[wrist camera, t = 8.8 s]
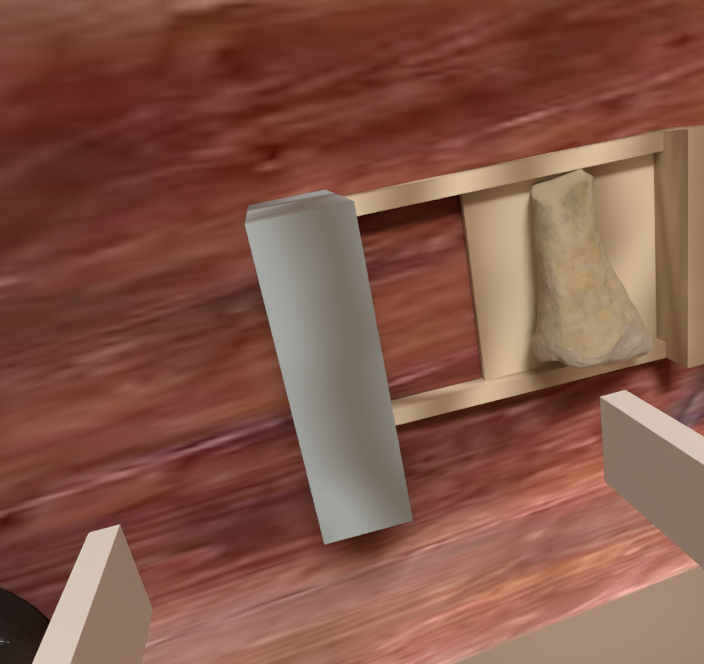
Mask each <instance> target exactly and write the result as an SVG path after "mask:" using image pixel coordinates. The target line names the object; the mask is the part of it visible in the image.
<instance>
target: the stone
mask: <svg viewBox="0 0 704 664" xmlns="http://www.w3.org/2000/svg"><path fill="white" fill-rule="evenodd" d="M531 201H532V209H533V214H534V218H533V220H534V230H535V231H534V233H535V244H536V255H537V264H538V279H539V291H538V308H537V324H536V330H535V332H534V335H533V337H532V340H531V346H532V350H533V352H534V353H535V356H536V357H537V360H538V361H543V362H545V361H551V360H552V361H559V362H561V363H563V364H565V365H567V366H570V367H574V368H576V369H588V368H594V367H598V366H604V367H608V366H613V365H617V364H622V363H625V362H627V361H629V360H631V359H633V358H636V357H642V356H644V355H646V354H648V353H649V351H650V350H651V348H652V345H653V342H652V337H651V335H650V334H649V332H648V330H647V328H646V326H645V325H644V322H643V320H642V318H641V316H640V315H639V312H638V310H637V308H636V307H635V305H634V304H633V303H632V301H631V300H630V298H629V296H628V294H627V291H626V289H625V287H624V285H623V284H622V282H621V281H620V279H619V278H618V277H617V275H616V274H615V272H614V270H613V268H612V266H611V265H610V263H609V261H608V259H607V256H606V254H605V251H604V248H603V245H602V241H601V236H600V232H599V227H598V222H597V215H596V208H595V196H594V178H593V176H592V175H589V174H587V173H586V172H584V171H583V170H582V169H578V170H576V171H574V172H571V173H568V174H564V175H561V176H558V177H556V178H553V179H549V180H545V181H539V182H535V183H534V184H533V185H532V187H531Z"/></svg>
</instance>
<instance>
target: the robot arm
mask: <svg viewBox="0 0 704 664" xmlns="http://www.w3.org/2000/svg"><path fill="white" fill-rule="evenodd" d="M600 404H601V423H602V441H603V459H604V478H605V482H606V483H607V484H608V485H609V486H611V487H612V488H613V489H614V490H615V491H616V492H617V493H619V494H620V495H621V496H622V497H623V498H624V499H625V500H626V501H628V502H629V503H630V504H631V505H632V506H633V507H634V508H635V509H637V510H638V511H639V512H640V513H641V514H642V515H643V516H644V517H646V518H647V519H648V520H649V521H650V522H651V523H652V524H654V525H655V526H656V527H657V528H658V529H659V530H660V531H661V532H663V533H664V534H665V535H666V536H667V537H668V538H669V539H670V540H672V541H673V542H674V543H675V544H676V545H677V546H678V547H679V548H681V549H682V550H683V551H684V552H685V553H686V554H687V555H689V556H690V557H691V558H692V559H693V560H694V561H695V562H696V563H698V564H699V565H700V566H701V567H702V568H703V569H704V437H703V436H702V435H700V434H698V433H697V432H695V431H693V430H692V429H690V428H688V427H687V426H685V425H683V424H682V423H680V422H678V421H676V420H675V419H673V418H671V417H670V416H668V415H666V414H665V413H663V412H661V411H660V410H658V409H656V408H655V407H653V406H651V405H650V404H648V403H646V402H645V401H643V400H641V399H640V398H638V397H636V396H635V395H633V394H631V393H629V392H628V391H626V390H624V391H620V392H616V393H612V394H609V395H605V396H601V397H600ZM152 611H153V609H152V607H151V604H150V602H149V599H148V596H147V594H146V591H145V589H144V586H143V583H142V581H141V578H140V575H139V573H138V570H137V568H136V565H135V562H134V560H133V557H132V555H131V552H130V549H129V547H128V544H127V542H126V539H125V536H124V534H123V531H122V529H121V526H120V525H116V526H112V527H109V528H105V529H101V530H97V531H93V532H90V533H88V536H87V538H86V540H85V543H84V545H83V547H82V550H81V552H80V554H79V557H78V559H77V561H76V563H75V566H74V568H73V570H72V573H71V575H70V577H69V580H68V582H67V584H66V587H65V589H64V591H63V594H62V596H61V598H60V600H59V603H58V605H57V607H56V610H55V612H54V614H53V617H52V619H51V621H50V623H49V622H48V621H47V620H46V619H45V618H44V617H43V616H42V615H41V614H40V613H39V612H38V611H36V610H35V609H34V608H33V607H32V606H30V605H29V604H27V603H26V602H24V601H23V600H21V599H20V598H18V597H16V596H14V595H12V594H11V593H9V592H7V591H4V590H2V589H0V664H141V662H142V657H143V653H144V648H145V643H146V639H147V634H148V629H149V625H150V620H151V615H152Z"/></svg>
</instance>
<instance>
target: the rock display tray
mask: <svg viewBox="0 0 704 664" xmlns="http://www.w3.org/2000/svg"><path fill="white" fill-rule="evenodd" d="M578 169H582V170H583V171H584V172H586V173H587V174H589V175H592V176H593V178H594V196H595V208H596V215H597V222H598V227H599V232H600V236H601V241H602V245H603V248H604V251H605V254H606V256H607V259H608V261H609V263H610V265H611V266H612V268H613V270H614V272H615V274H616V275H617V277H618V278H619V279H620V281H621V282H622V284H623V285H624V287H625V289H626V291H627V294H628V296H629V298H630V300H631V301H632V303H633V304H634V305H635V307H636V308H637V310H638V312H639V315H640V316H641V318H642V320H643V322H644V325H645V326H646V328H647V330H648V332H649V334H650V335H651V337H652V342H653V345H652V348H651V350H650V351H649V353H648V354H646V355H644V356H642V357H636V358H633V359H631V360H629V361H627V362H625V363H622V364H617V365H613V366H608V367H604V366H598V367H594V368H588V369H576V368H574V367H570V366H567V365H565V364H563V363H561V362H559V361H552V360H551V361H545V362H543V361H538V360H537V357H536V356H535V353H534V352H533V350H532V346H531V340H532V337H533V335H534V332H535V330H536V324H537V308H538V291H539V279H538V264H537V255H536V244H535V233H534V231H535V230H534V220H533V218H534V214H533V209H532V201H531V187H532V185H533V184H534V183H535V182H539V181H545V180H549V179H553V178H556V177H558V176H561V175H564V174H568V173H571V172H574V171H576V170H578ZM454 195H460V203H461V211H462V219H463V227H464V235H465V243H466V251H467V259H468V267H469V275H470V283H471V291H472V299H473V307H474V315H475V323H476V331H477V339H478V347H479V355H480V363H481V371H482V378H481V379H477V380H473V381H469V382H465V383H461V384H457V385H453V386H449V387H445V388H440V389H436V390H432V391H428V392H424V393H420V394H416V395H412V396H408V397H404V398H400V399H396V400H392V401H391V399H390V393H389V388H388V383H387V377H386V372H385V366H384V361H383V356H382V350H381V345H380V339H379V334H378V329H377V323H376V318H375V312H374V307H373V301H372V296H371V291H370V285H369V280H368V274H367V269H366V264H365V258H364V253H363V247H362V242H361V237H360V231H359V226H358V220H357V216H360V215H365V214H370V213H374V212H379V211H384V210H388V209H393V208H398V207H402V206H407V205H412V204H417V203H421V202H426V201H431V200H435V199H440V198H445V197H449V196H454ZM245 227H246V231H247V235H248V239H249V243H250V247H251V251H252V255H253V259H254V263H255V267H256V271H257V275H258V280H259V284H260V288H261V292H262V296H263V300H264V304H265V308H266V312H267V316H268V320H269V324H270V328H271V332H272V336H273V340H274V344H275V348H276V352H277V356H278V360H279V364H280V368H281V372H282V376H283V380H284V384H285V388H286V392H287V396H288V400H289V404H290V408H291V412H292V416H293V420H294V424H295V428H296V432H297V436H298V440H299V444H300V448H301V452H302V456H303V460H304V464H305V468H306V472H307V476H308V480H309V484H310V488H311V492H312V496H313V500H314V504H315V509H316V513H317V517H318V521H319V525H320V529H321V533H322V537H323V541H324V545H325V544H328V543H332V542H336V541H339V540H343V539H347V538H351V537H354V536H358V535H362V534H366V533H369V532H373V531H377V530H380V529H384V528H388V527H392V526H395V525H399V524H403V523H406V522H410V521H413V518H412V513H411V507H410V502H409V496H408V491H407V486H406V480H405V475H404V469H403V464H402V458H401V453H400V448H399V442H398V437H397V431H396V425H400V424H404V423H408V422H412V421H416V420H420V419H424V418H428V417H432V416H436V415H440V414H444V413H448V412H451V411H455V410H459V409H463V408H467V407H471V406H475V405H479V404H483V403H487V402H491V401H495V400H499V399H503V398H507V397H511V396H515V395H519V394H523V393H527V392H531V391H535V390H539V389H543V388H547V387H551V386H555V385H559V384H563V383H567V382H571V381H575V380H579V379H583V378H587V377H591V376H595V375H599V374H603V373H607V372H611V371H615V370H619V369H623V368H627V367H631V366H635V365H639V364H643V363H646V362H650V361H654V360H658V359H662V358H668V359H670V360H672V361H674V362H676V363H678V364H680V365H682V366H684V367H687V368H690V367H694V366H698V365H702V364H704V125H700V126H688V127H676V128H667V129H662V130H657V131H652V132H648V133H643V134H638V135H633V136H628V137H624V138H619V139H614V140H609V141H605V142H600V143H595V144H590V145H585V146H581V147H576V148H571V149H566V150H562V151H557V152H552V153H547V154H542V155H538V156H533V157H528V158H523V159H519V160H514V161H509V162H504V163H499V164H495V165H490V166H485V167H480V168H476V169H471V170H466V171H461V172H456V173H452V174H447V175H442V176H437V177H433V178H428V179H423V180H418V181H413V182H409V183H404V184H399V185H394V186H390V187H385V188H380V189H375V190H370V191H366V192H361V193H356V194H351V195H347V196H340V195H337V194H335V193H332V192H330V191H328V190H322V191H317V192H312V193H307V194H302V195H298V196H293V197H288V198H283V199H278V200H274V201H269V202H264V203H259V204H254V205H249V207H248V211H247V216H246V221H245Z"/></svg>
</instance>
